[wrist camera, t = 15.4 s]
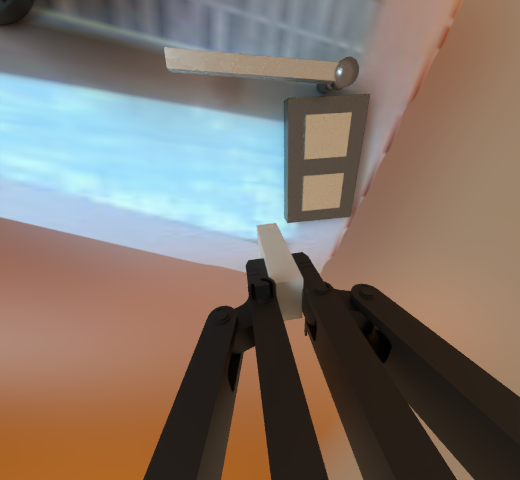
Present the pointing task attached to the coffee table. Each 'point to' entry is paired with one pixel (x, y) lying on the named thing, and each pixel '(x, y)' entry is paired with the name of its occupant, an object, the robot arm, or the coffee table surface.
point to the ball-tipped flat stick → (262, 67)
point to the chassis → (322, 154)
